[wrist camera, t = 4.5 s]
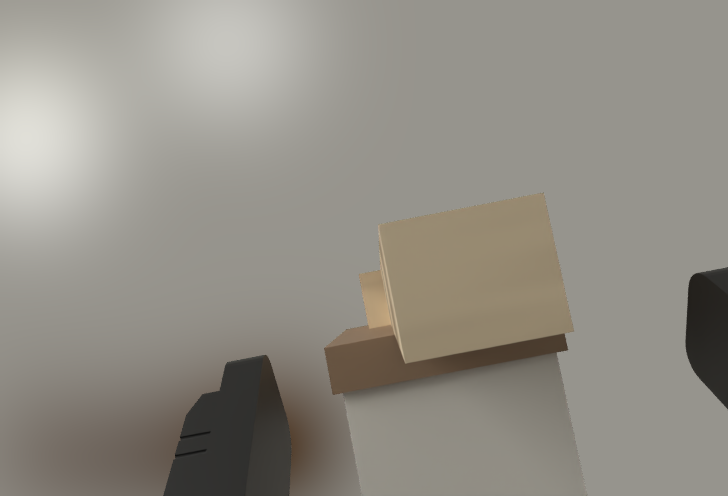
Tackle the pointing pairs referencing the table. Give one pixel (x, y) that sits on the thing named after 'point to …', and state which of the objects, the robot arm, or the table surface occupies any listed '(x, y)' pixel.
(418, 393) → the white tall carton
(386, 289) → the tan wooden plank
